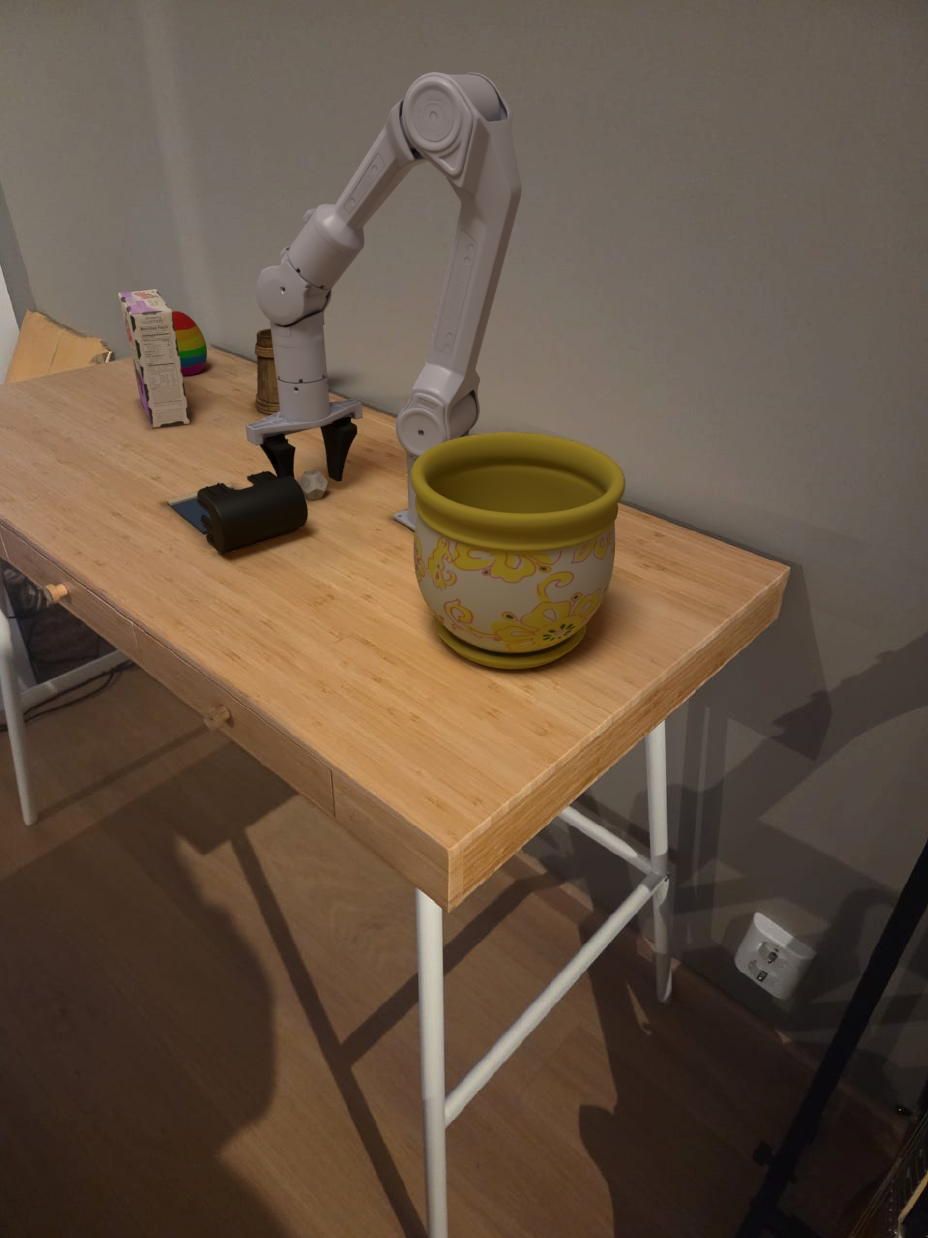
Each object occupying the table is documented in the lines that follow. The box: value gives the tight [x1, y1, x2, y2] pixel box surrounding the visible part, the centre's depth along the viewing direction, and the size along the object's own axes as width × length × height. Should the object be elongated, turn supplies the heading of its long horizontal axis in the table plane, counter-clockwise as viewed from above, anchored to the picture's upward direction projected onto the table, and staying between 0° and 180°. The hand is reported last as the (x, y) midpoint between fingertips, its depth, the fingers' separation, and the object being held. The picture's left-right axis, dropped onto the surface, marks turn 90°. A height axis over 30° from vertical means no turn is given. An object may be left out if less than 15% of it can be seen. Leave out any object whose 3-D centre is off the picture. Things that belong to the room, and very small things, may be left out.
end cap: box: [197, 470, 309, 555], centre depth 91 cm, size 10×7×7 cm
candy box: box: [117, 288, 191, 429], centre depth 122 cm, size 14×6×16 cm, turn 25°
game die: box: [298, 469, 329, 501], centre depth 102 cm, size 4×4×3 cm
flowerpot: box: [410, 431, 626, 670], centre depth 74 cm, size 18×18×16 cm
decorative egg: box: [172, 310, 208, 377], centre depth 141 cm, size 8×8×10 cm
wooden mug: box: [254, 327, 280, 415], centre depth 126 cm, size 9×14×18 cm, turn 126°
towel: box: [166, 482, 234, 535], centre depth 99 cm, size 10×8×1 cm
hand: (312, 485), depth 102 cm, fingers open, 6 cm apart
